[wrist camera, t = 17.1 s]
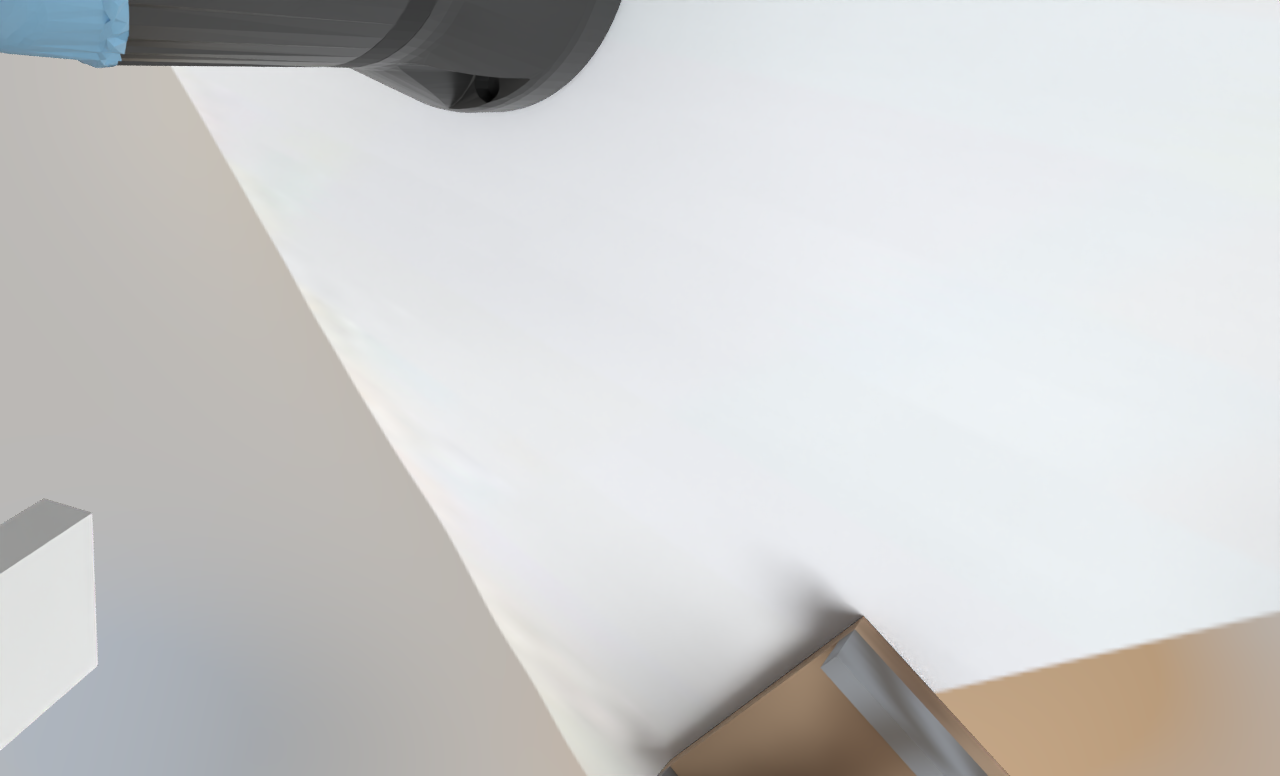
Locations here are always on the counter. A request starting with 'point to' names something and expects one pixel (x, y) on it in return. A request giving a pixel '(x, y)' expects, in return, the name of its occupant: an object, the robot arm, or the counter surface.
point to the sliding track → (841, 722)
